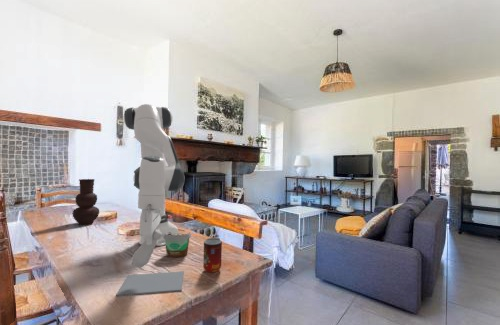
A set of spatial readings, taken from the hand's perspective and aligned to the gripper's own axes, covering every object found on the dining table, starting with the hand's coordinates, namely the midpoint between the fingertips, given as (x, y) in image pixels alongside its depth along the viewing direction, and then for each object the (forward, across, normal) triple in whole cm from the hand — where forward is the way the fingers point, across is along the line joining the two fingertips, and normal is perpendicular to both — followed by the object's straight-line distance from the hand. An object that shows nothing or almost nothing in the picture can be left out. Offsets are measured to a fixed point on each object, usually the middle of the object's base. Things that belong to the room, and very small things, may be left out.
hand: (150, 242), depth 86 cm
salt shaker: (+8, 0, +4) cm, 9 cm away
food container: (+15, +25, -7) cm, 30 cm away
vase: (+15, +94, +58) cm, 111 cm away
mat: (+14, 0, -1) cm, 15 cm away
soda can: (+15, +7, -22) cm, 27 cm away
